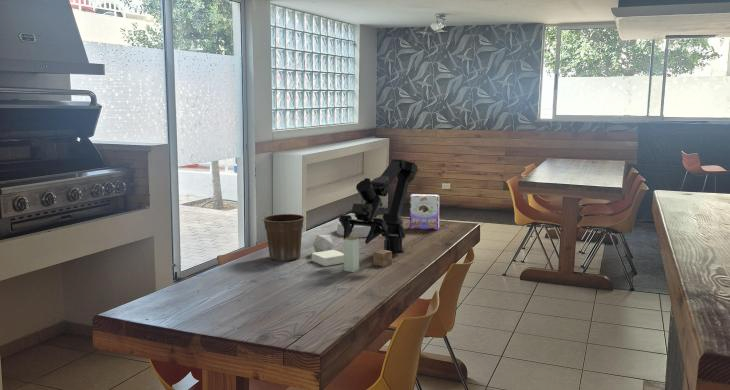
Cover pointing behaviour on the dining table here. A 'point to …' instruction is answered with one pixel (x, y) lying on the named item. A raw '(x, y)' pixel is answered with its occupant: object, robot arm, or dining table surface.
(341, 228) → the dish
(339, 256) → the slab
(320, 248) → the die
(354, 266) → the tea tin
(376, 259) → the walnut cube
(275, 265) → the dining table surface
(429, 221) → the candy box
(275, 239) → the plant pot
